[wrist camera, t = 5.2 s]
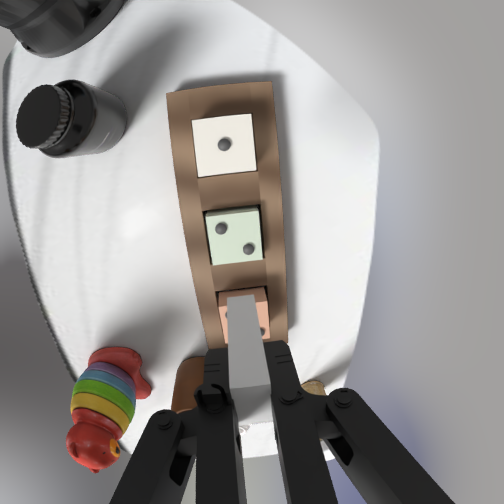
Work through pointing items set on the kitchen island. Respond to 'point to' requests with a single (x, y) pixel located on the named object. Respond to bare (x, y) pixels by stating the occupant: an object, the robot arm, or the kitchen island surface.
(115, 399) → the stacking bear
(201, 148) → the one-pip button
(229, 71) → the kitchen island surface
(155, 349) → the kitchen island surface
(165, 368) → the kitchen island surface
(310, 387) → the sprinkles bottle
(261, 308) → the three-pip button
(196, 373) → the mug
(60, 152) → the supplement bottle
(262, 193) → the button board
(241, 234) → the two-pip button
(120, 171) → the kitchen island surface
